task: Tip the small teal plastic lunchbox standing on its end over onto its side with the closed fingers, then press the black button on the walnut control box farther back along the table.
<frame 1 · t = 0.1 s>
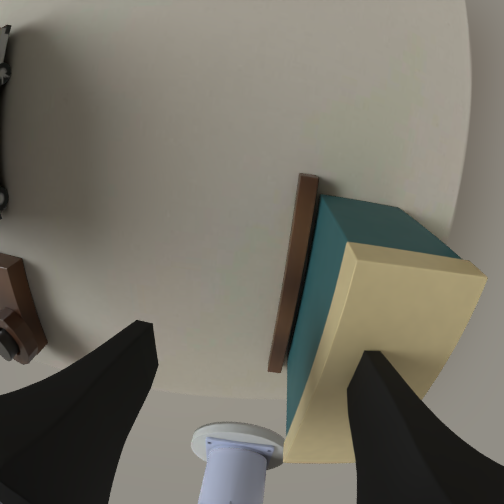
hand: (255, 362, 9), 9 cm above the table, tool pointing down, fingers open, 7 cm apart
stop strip: (290, 285, 18), on the table
lunchbox: (340, 291, 18), on the table
button: (6, 344, 19), point 4 cm above the table, slide at 0.1 cm
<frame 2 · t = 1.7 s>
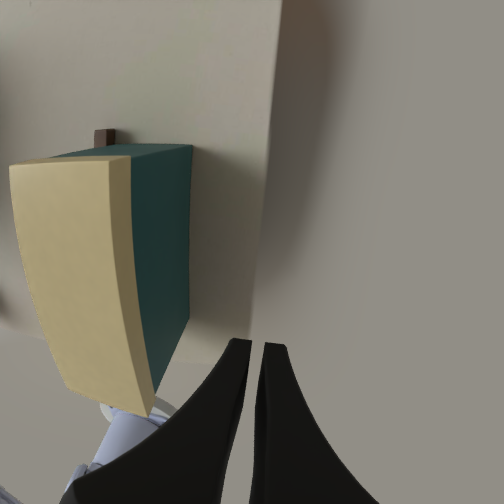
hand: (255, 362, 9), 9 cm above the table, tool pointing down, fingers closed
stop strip: (110, 231, 18), on the table
lunchbox: (152, 236, 18), on the table
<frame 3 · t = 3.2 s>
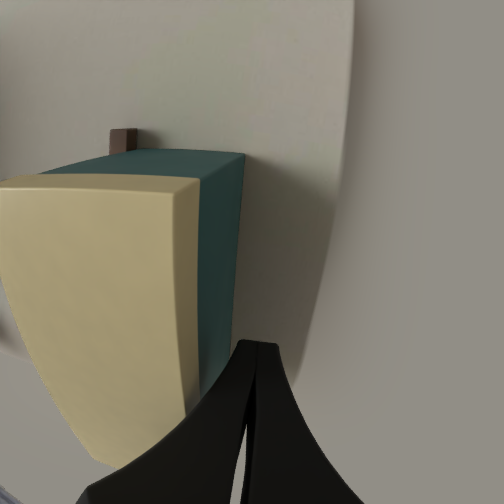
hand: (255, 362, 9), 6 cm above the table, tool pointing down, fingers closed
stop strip: (131, 260, 15), on the table
lunchbox: (187, 268, 15), on the table, touching gripper
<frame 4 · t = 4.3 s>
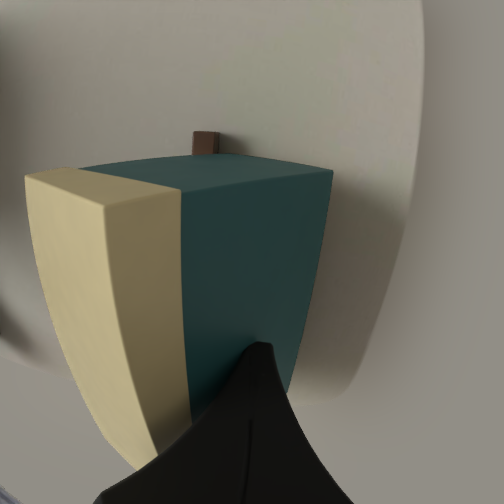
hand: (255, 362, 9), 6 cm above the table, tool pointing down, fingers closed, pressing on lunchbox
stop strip: (202, 269, 15), on the table
lunchbox: (262, 287, 14), point 1 cm above the table, tilted 29°, touching gripper, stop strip
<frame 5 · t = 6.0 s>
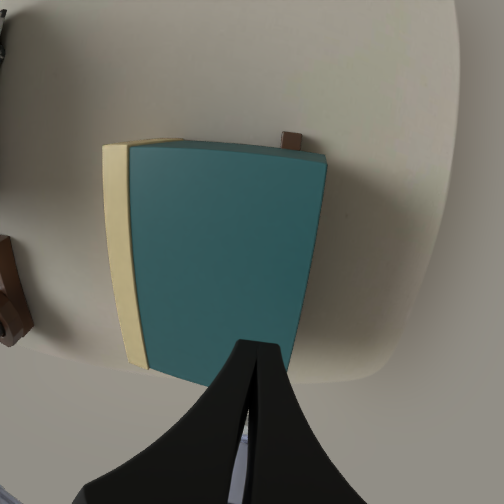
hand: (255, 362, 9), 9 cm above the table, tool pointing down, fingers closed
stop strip: (276, 253, 17), on the table
lunchbox: (304, 286, 14), point 4 cm above the table, tilted 98°, touching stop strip
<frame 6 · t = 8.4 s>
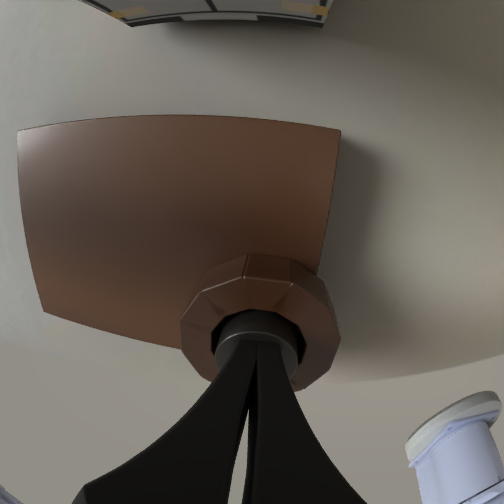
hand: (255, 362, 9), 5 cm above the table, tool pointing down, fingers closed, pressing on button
control box: (157, 227, 13), on the table
button: (257, 346, 10), point 4 cm above the table, slide at -0.5 cm, touching gripper
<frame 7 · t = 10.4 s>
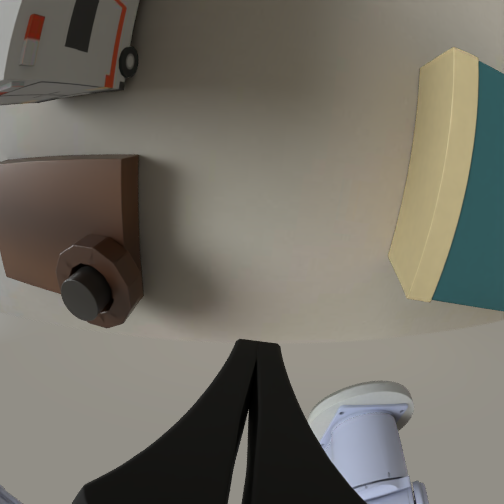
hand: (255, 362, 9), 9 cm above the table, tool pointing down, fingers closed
control box: (62, 221, 18), on the table
button: (85, 293, 15), point 4 cm above the table, slide at 0.1 cm
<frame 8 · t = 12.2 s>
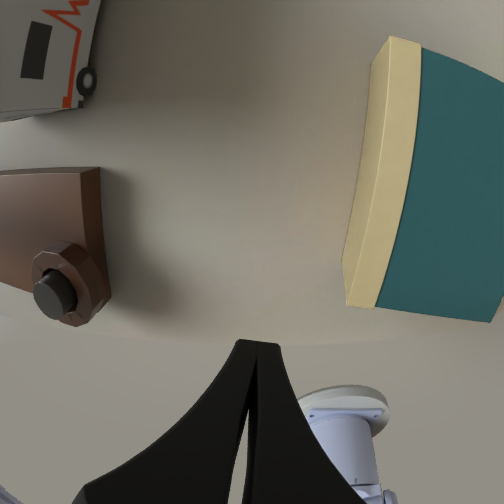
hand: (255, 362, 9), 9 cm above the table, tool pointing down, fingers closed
control box: (39, 228, 19), on the table
toy vehicle: (71, 11, 12), on the table
button: (54, 295, 16), point 4 cm above the table, slide at 0.1 cm
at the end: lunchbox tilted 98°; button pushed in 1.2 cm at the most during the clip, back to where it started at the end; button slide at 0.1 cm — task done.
